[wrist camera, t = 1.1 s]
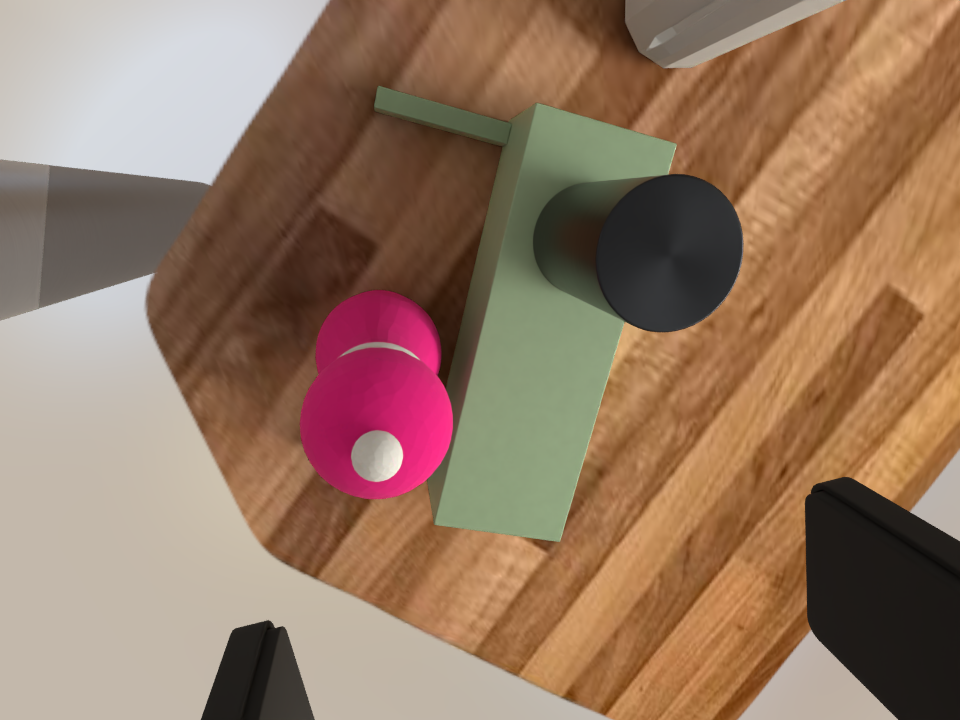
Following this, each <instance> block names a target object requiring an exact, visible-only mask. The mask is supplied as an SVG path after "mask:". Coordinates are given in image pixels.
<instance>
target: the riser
mask: <svg viewBox="0 0 960 720" xmlns="http://www.w3.org/2000/svg"><path fill="white" fill-rule="evenodd" d="M374 111H375V112H378V113H382V114H386V115H389V116H393V117H396V118H400V119H404V120H407V121H411V122H415V123H418V124H422V125H425V126H429V127H433V128H436V129H440V130H444V131H447V132H451V133H454V134H458V135H462V136H465V137H469V138H473V139H476V140H480V141H484V142H487V143H491V144H494V145H498V146H503V147H502V151H501V155H500V160H499V164H498V168H497V172H496V177H495V181H494V185H493V189H492V194H491V198H490V202H489V206H488V211H487V215H486V219H485V224H484V228H483V232H482V236H481V241H480V245H479V249H478V253H477V258H476V262H475V266H474V270H473V275H472V279H471V283H470V287H469V292H468V296H467V300H466V305H465V309H464V313H463V317H462V322H461V326H460V330H459V334H458V339H457V343H456V347H455V351H454V356H453V360H452V364H451V369H450V373H449V377H448V381H447V386H446V391H447V394H448V397H449V400H450V403H451V408H452V414H453V430H452V436H451V441H450V444H449V448H448V450H447V452H446V455H445V457H444V458H443V460H442V462H441V464H440V465H439V466H438V467H437V469H436V470H435V471H434V472H433V474H432V475H431V476H430V477H429V478H428V479H427V483H428V490H429V496H430V502H431V508H432V515H433V521H434V525H440V526H447V527H454V528H462V529H469V530H476V531H484V532H491V533H498V534H506V535H513V536H521V537H528V538H535V539H543V540H550V541H557V542H560V539H561V536H562V532H563V529H564V526H565V522H566V519H567V516H568V512H569V509H570V505H571V502H572V499H573V495H574V492H575V488H576V485H577V482H578V478H579V475H580V471H581V468H582V465H583V461H584V458H585V454H586V451H587V448H588V444H589V441H590V437H591V434H592V431H593V427H594V424H595V420H596V417H597V414H598V410H599V407H600V403H601V400H602V397H603V393H604V390H605V386H606V383H607V380H608V376H609V373H610V369H611V366H612V363H613V359H614V356H615V352H616V349H617V346H618V342H619V339H620V336H621V332H622V329H623V325H624V322H625V321H623V320H621V319H618V318H616V317H614V316H612V315H610V314H608V313H606V312H604V311H602V310H600V309H598V308H596V307H594V306H592V305H590V304H588V303H586V302H584V301H582V300H580V299H578V298H576V297H574V296H572V295H570V294H568V293H566V292H564V291H562V290H560V289H558V288H556V287H555V286H553V285H552V284H551V283H550V282H549V281H548V280H547V279H546V278H545V277H544V275H543V274H542V272H541V271H540V269H539V267H538V265H537V262H536V259H535V255H534V250H533V234H534V229H535V225H536V222H537V219H538V217H539V215H540V213H541V211H542V210H543V208H544V206H545V205H546V204H547V203H548V202H549V200H550V199H552V198H553V197H554V196H555V195H556V194H557V193H559V192H560V191H562V190H564V189H565V188H567V187H570V186H572V185H576V184H580V183H588V182H598V181H608V180H619V179H629V178H639V177H649V176H659V175H668V173H669V169H670V166H671V162H672V159H673V156H674V152H675V149H676V145H677V144H676V143H672V142H669V141H666V140H662V139H659V138H655V137H652V136H649V135H645V134H642V133H638V132H635V131H632V130H628V129H625V128H622V127H618V126H615V125H611V124H608V123H605V122H601V121H598V120H594V119H591V118H588V117H584V116H581V115H577V114H574V113H571V112H567V111H564V110H561V109H557V108H554V107H550V106H547V105H544V104H540V103H535V104H534V105H532V106H531V107H529V108H528V109H526V110H525V111H523V112H521V113H520V114H518V115H517V116H515V117H514V118H512V119H511V120H509V121H508V122H504V121H501V120H497V119H494V118H490V117H487V116H483V115H480V114H476V113H472V112H469V111H465V110H462V109H458V108H455V107H451V106H448V105H444V104H441V103H437V102H434V101H430V100H427V99H423V98H420V97H416V96H413V95H409V94H406V93H402V92H399V91H395V90H392V89H388V88H385V87H381V86H378V88H377V93H376V98H375V104H374ZM308 460H309V459H308Z"/></svg>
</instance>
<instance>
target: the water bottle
mask: <svg viewBox="0 0 960 720" xmlns="http://www.w3.org/2000/svg"><path fill="white" fill-rule="evenodd" d="M843 1H845V0H626V2H625V23H626V25H627V28H628V30H629V32H630V34H631V36H632V38H633V40H634V42H635V44H636V47H637V49H638V51H639V52H640V53H642V54H643V55H645V56H646V57H648V58H649V59H651V60H652V61H654V62H655V63H656V64H658V65H659V66H661V67H662V68H692V67H694V66H696V65H699V64H701V63H703V62H706V61H708V60H710V59H712V58H715V57H717V56H719V55H722V54H724V53H726V52H729V51H731V50H733V49H735V48H738V47H740V46H742V45H745V44H747V43H749V42H751V41H754V40H756V39H758V38H761V37H763V36H765V35H767V34H770V33H772V32H774V31H777V30H779V29H781V28H783V27H786V26H788V25H790V24H793V23H795V22H797V21H800V20H802V19H804V18H806V17H809V16H811V15H813V14H816V13H818V12H820V11H822V10H825V9H827V8H829V7H832V6H834V5H836V4H838V3H841V2H843Z"/></svg>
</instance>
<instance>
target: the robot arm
mask: <svg viewBox="0 0 960 720" xmlns="http://www.w3.org/2000/svg"><path fill="white" fill-rule="evenodd" d="M805 526H806V574H807V617H808V622H809V625H810V627H811V630H812V632H813V633H814V635H815V636H816V637H817V639H818V640H819V641H820V642H821V643H822V644H823V645H824V646H825V647H826V648H827V649H828V650H829V651H830V652H831V653H832V654H833V655H834V656H835V657H836V658H837V659H838V660H839V661H840V662H841V663H842V664H843V665H844V666H845V667H846V668H847V669H848V670H849V671H850V672H851V673H852V674H853V675H854V676H855V677H856V678H857V679H858V680H859V681H860V682H861V683H862V684H863V685H864V686H865V687H866V688H867V689H868V690H869V691H870V692H871V693H872V694H873V695H874V696H875V697H876V698H877V699H878V700H879V701H880V702H881V703H882V704H883V705H884V706H885V707H886V708H887V709H888V710H889V711H890V712H891V713H892V714H893V715H894V716H895V717H896V718H897V719H898V720H960V541H958V540H957V539H955V538H953V537H951V536H950V535H948V534H946V533H945V532H943V531H941V530H939V529H938V528H936V527H934V526H932V525H931V524H929V523H927V522H926V521H924V520H922V519H921V518H919V517H917V516H916V515H914V514H912V513H910V512H909V511H907V510H905V509H904V508H902V507H900V506H898V505H897V504H895V503H893V502H892V501H890V500H888V499H886V498H885V497H883V496H881V495H880V494H878V493H876V492H875V491H873V490H871V489H869V488H868V487H866V486H864V485H863V484H861V483H859V482H857V481H856V480H854V479H852V478H849V477H842V478H838V479H834V480H830V481H826V482H822V483H818V484H816V485H814V486H813V488H812V490H811V494H809V495H808V496H807V497H806V499H805ZM201 720H315V719H314V716H313V713H312V710H311V707H310V704H309V701H308V697H307V694H306V691H305V688H304V684H303V681H302V678H301V675H300V672H299V669H298V665H297V662H296V659H295V656H294V652H293V649H292V646H291V643H290V640H289V637H288V634H287V631H286V629H285V627H283V626H282V627H278V628H275V627H274V625H273V623H272V622H271V621H269V620H268V621H264V622H260V623H256V624H251V625H247V626H244V627H240V628H236V629H234V630H233V631H232V633H231V635H230V638H229V641H228V643H227V646H226V649H225V652H224V655H223V658H222V661H221V664H220V666H219V669H218V672H217V675H216V678H215V681H214V683H213V687H212V689H211V692H210V695H209V698H208V701H207V704H206V707H205V710H204V712H203V715H202V718H201Z"/></svg>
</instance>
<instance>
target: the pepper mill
mask: <svg viewBox="0 0 960 720" xmlns="http://www.w3.org/2000/svg"><path fill="white" fill-rule="evenodd" d="M441 357H442V355H441V343H440V338H439V334H438V331H437V329H436V327H435V325H434V322H433V321H432V319H431V318H430V316H429V315H428V314H427V313H426V312H425V311H424V310H423V309H422V307H420V306H419V305H418V304H416V303H415V302H414V301H412V300H411V299H409V298H406V297H404V296H402V295H400V294H398V293H395V292H391V291H386V290H372V291H367V292H363V293H360V294H358V295H355V296H352V297H350V298H348V299H347V300H345V301H343V302H342V303H340V304H339V305H338V306H337V307H335V308H334V309H333V310H332V312H331V313H330V314H329V315H328V316H327V318H326V319H325V321H324V322H323V324H322V327H321V329H320V331H319V334H318V339H317V343H316V357H315V358H316V364H317V370H318V374H319V375H318V376H317V377H316V379H315V380H314V382H313V383H312V385H311V386H310V388H309V389H308V392H307V394H306V396H305V399H304V402H303V406H302V410H301V417H300V432H301V441H302V444H303V448H304V451H305V453H306V455H307V457H308V459H309V461H310V463H311V464H312V466H313V467H314V469H315V470H316V471H317V473H318V474H319V475H320V476H321V477H322V478H323V479H324V480H326V481H327V482H328V483H329V484H330V485H332V486H333V487H335V488H337V489H338V490H340V491H342V492H345V493H347V494H350V495H352V496H356V497H361V498H365V499H386V498H391V497H396V496H399V495H401V494H404V493H406V492H409V491H410V490H412V489H414V488H415V487H417V486H418V485H420V484H422V483H423V482H424V481H425V480H426V479H428V478H429V477H430V476H431V475H432V474H433V472H434V471H435V470H436V469H437V467H438V466H439V465H440V464H441V462H442V460H443V458H444V457H445V455H446V452H447V450H448V448H449V444H450V441H451V436H452V430H453V414H452V408H451V403H450V400H449V397H448V394H447V391H446V389H445V387H444V385H443V384H442V382H441V381H440V379H439V377H438V373H439V370H440V366H441Z"/></svg>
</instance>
